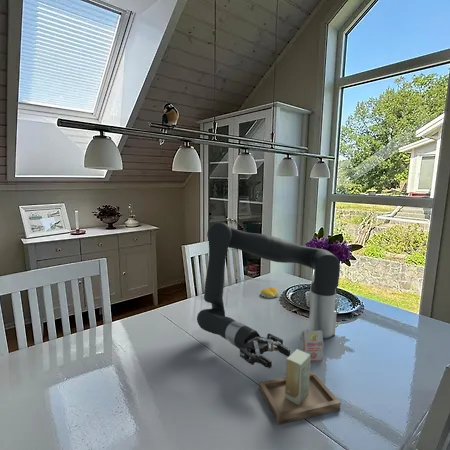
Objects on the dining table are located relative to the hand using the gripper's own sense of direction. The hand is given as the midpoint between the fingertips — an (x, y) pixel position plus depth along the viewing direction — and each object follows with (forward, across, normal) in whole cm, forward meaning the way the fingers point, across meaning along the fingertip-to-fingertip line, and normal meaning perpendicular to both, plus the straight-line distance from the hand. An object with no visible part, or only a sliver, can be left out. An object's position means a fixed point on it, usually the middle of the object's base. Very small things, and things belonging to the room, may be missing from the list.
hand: (280, 359), depth 86 cm
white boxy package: (-2, +19, +9) cm, 22 cm away
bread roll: (-47, +50, +10) cm, 70 cm away
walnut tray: (+6, 0, +9) cm, 11 cm away
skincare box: (+6, 0, +8) cm, 10 cm away
